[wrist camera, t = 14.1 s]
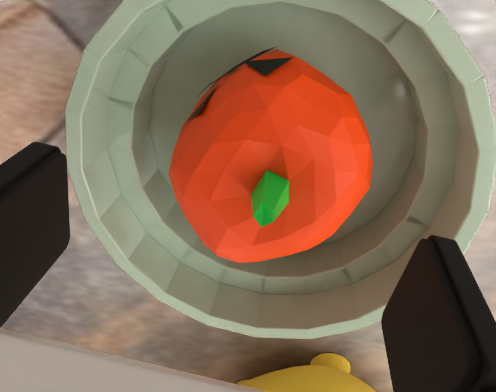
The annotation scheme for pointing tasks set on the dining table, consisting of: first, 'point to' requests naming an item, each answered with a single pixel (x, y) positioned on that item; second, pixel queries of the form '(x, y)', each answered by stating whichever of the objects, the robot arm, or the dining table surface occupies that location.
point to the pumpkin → (270, 159)
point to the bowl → (371, 110)
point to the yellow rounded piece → (311, 377)
